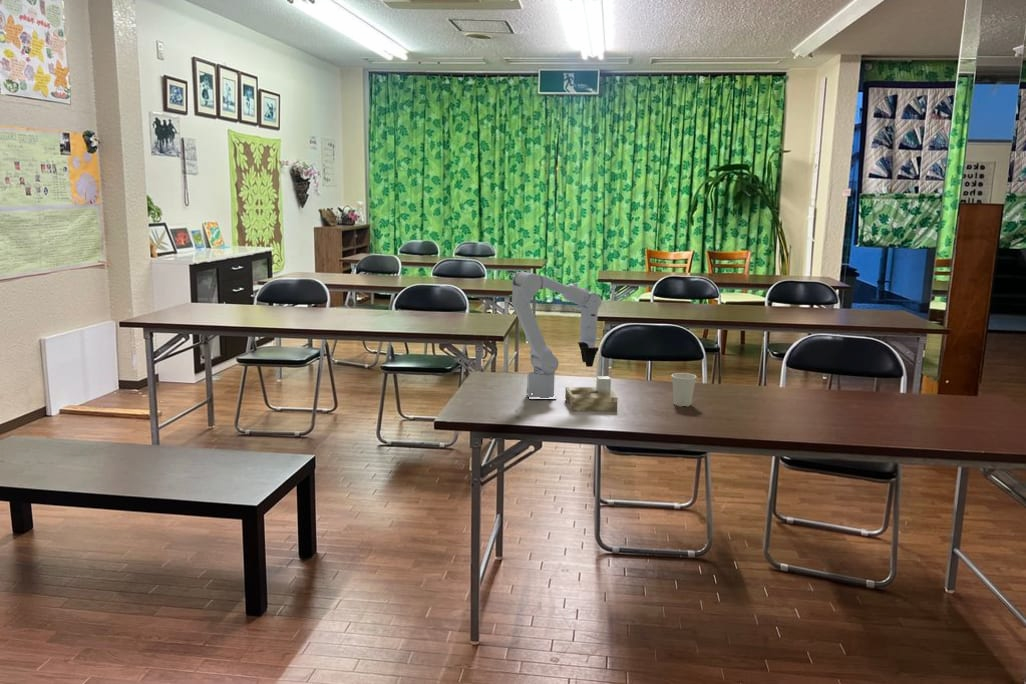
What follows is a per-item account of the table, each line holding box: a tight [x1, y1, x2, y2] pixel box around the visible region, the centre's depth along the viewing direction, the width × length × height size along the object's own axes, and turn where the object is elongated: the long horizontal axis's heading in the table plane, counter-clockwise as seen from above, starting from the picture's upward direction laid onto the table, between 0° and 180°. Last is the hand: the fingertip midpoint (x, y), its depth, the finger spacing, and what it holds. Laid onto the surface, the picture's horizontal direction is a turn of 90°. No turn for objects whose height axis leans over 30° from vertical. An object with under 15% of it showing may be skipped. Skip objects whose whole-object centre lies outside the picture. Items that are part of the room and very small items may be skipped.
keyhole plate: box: [564, 386, 619, 412], centre depth 258 cm, size 15×14×4 cm
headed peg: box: [595, 375, 612, 394], centre depth 258 cm, size 4×4×9 cm
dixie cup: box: [671, 372, 698, 407], centre depth 261 cm, size 8×8×10 cm
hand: (587, 364), depth 273 cm, fingers open, 7 cm apart
